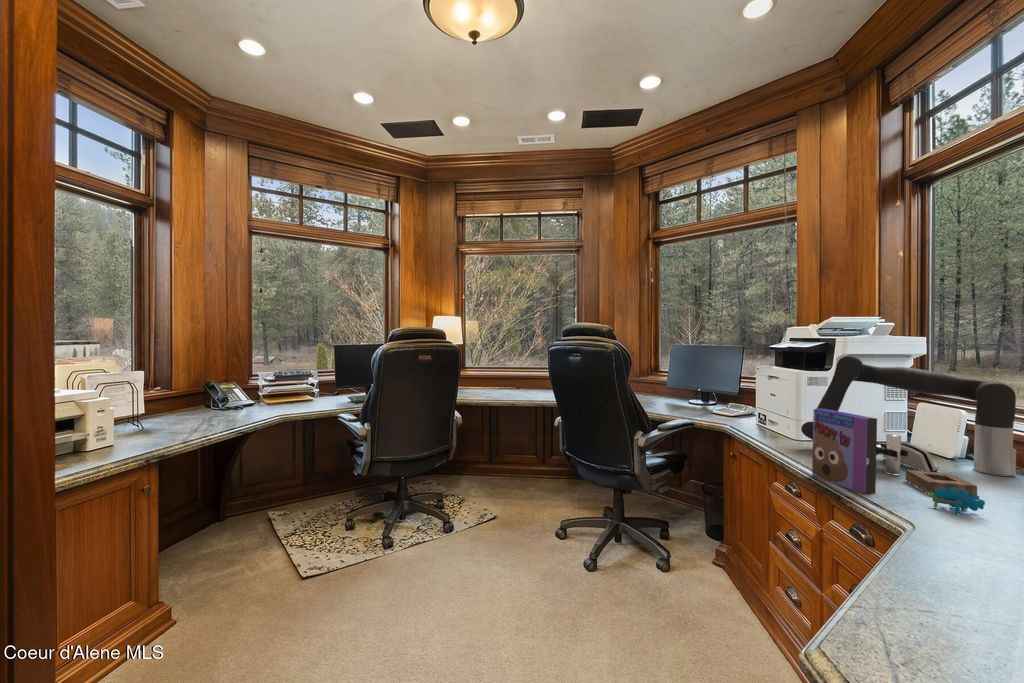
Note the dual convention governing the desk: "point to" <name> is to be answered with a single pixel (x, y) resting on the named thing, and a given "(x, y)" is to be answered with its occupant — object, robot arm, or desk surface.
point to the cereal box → (845, 449)
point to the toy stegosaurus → (956, 499)
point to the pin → (891, 462)
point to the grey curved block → (917, 458)
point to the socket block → (939, 481)
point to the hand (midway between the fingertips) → (901, 454)
